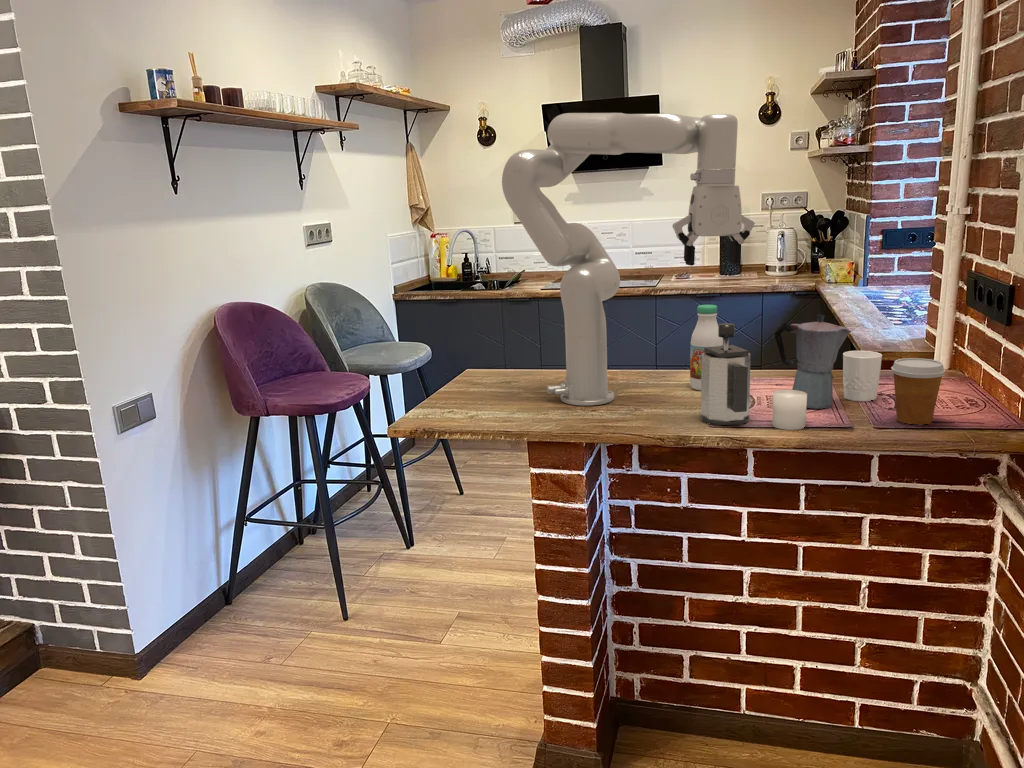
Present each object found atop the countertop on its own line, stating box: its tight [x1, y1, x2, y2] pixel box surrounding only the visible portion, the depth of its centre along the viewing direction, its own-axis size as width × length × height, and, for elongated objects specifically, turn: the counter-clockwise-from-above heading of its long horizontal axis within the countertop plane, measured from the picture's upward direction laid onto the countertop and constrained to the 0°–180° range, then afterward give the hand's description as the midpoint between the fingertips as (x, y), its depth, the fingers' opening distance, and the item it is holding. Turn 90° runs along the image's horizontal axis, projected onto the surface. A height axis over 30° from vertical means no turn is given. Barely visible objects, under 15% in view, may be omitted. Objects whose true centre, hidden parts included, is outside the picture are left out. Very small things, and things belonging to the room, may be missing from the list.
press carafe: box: [700, 344, 752, 426], centre depth 164 cm, size 10×12×15 cm
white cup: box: [842, 350, 883, 402], centre depth 177 cm, size 8×8×10 cm
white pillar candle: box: [771, 389, 807, 431], centre depth 160 cm, size 6×6×7 cm
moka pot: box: [774, 313, 852, 410], centre depth 172 cm, size 10×15×20 cm, turn 78°
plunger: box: [717, 322, 736, 350], centre depth 164 cm, size 7×7×14 cm
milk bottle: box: [689, 304, 724, 391], centre depth 191 cm, size 8×8×20 cm
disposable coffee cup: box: [890, 357, 946, 425], centre depth 158 cm, size 10×10×12 cm
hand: (711, 264), depth 165 cm, fingers open, 9 cm apart
